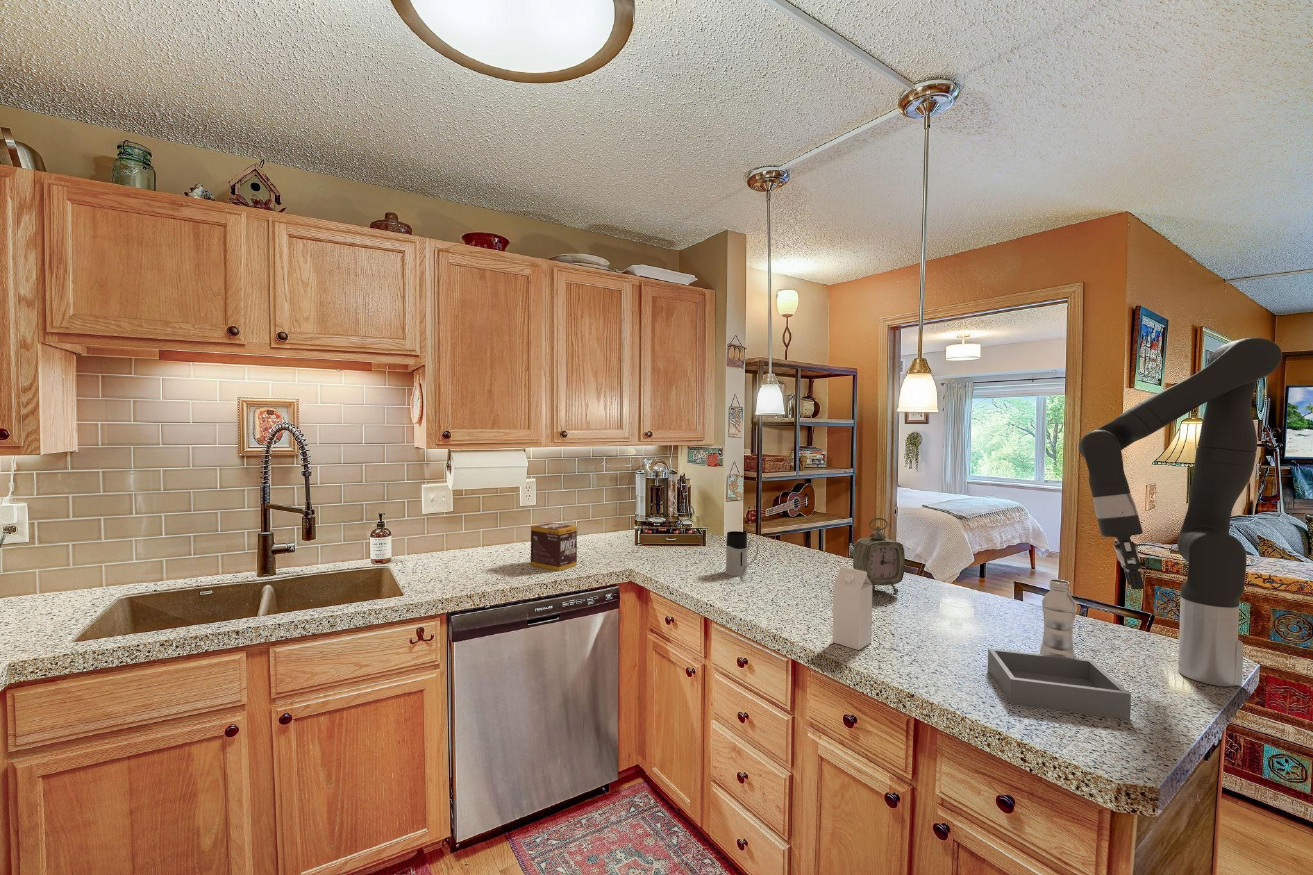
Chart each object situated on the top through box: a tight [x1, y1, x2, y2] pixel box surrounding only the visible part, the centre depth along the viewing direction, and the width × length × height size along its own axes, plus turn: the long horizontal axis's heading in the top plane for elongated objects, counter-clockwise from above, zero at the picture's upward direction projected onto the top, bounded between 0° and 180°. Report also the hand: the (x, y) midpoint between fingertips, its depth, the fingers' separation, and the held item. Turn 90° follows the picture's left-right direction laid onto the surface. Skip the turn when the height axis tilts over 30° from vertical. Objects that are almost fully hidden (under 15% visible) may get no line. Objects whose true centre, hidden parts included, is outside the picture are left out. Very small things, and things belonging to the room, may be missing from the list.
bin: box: [987, 648, 1132, 721], centre depth 116 cm, size 20×16×5 cm
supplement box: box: [529, 522, 578, 572], centre depth 216 cm, size 10×15×16 cm
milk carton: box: [832, 566, 873, 651], centre depth 141 cm, size 7×7×19 cm
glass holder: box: [724, 530, 760, 577], centre depth 205 cm, size 9×14×15 cm, turn 43°
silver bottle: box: [1039, 578, 1078, 658], centre depth 128 cm, size 6×7×20 cm
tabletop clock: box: [852, 517, 906, 594], centre depth 185 cm, size 14×9×25 cm, turn 102°
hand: (1136, 586), depth 125 cm, fingers open, 8 cm apart
